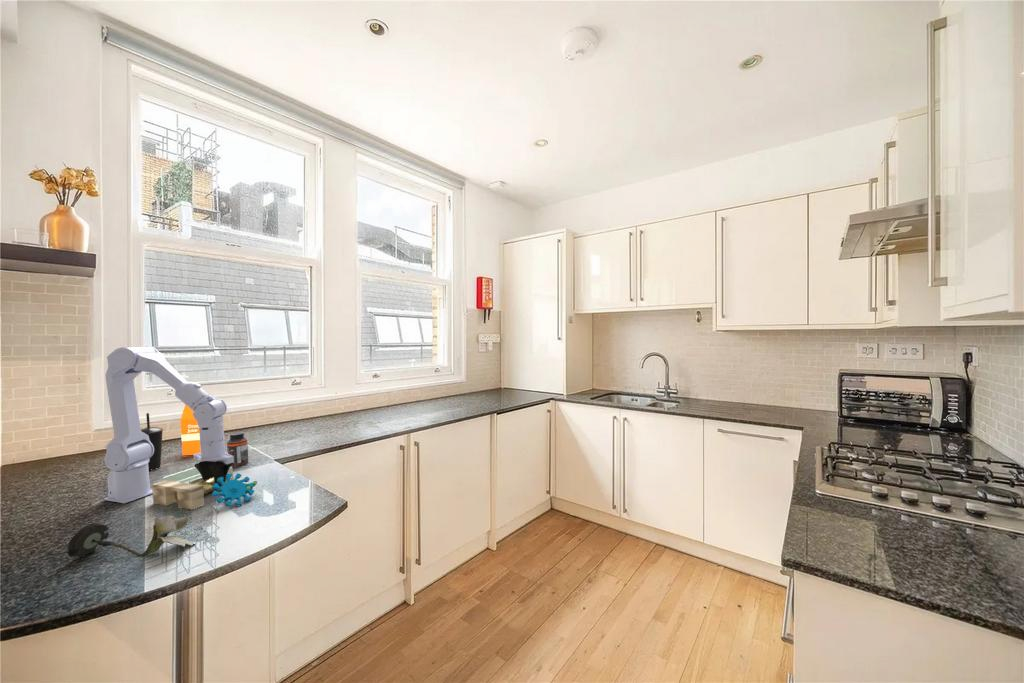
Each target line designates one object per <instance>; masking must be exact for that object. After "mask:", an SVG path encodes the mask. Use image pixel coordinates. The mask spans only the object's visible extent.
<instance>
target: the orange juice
mask: <svg viewBox="0 0 1024 683" xmlns="http://www.w3.org/2000/svg"><path fill="white" fill-rule="evenodd" d="M192 413H194V411H193V410H191V409H190V408H189V407H188V406H187V405H186V404H184V407H183V410H182V414H181V417H180V431H181V432H180V434H181V435H180V436H181V437H180V438H181V446H182V449H181V450H182V456H183V455H193V454H196V453H200V452H201V451H200V436H199V426H198V422H197V421H196V420H195V418H194V417H193V414H192Z"/></svg>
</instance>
